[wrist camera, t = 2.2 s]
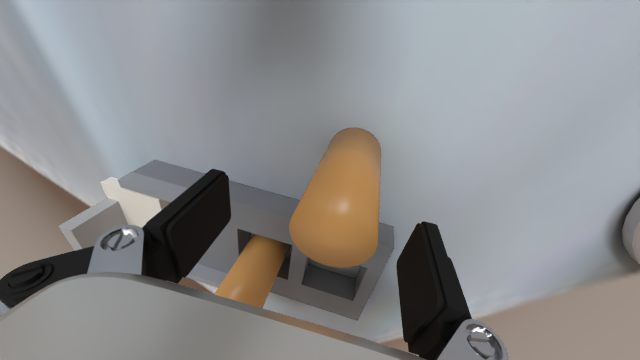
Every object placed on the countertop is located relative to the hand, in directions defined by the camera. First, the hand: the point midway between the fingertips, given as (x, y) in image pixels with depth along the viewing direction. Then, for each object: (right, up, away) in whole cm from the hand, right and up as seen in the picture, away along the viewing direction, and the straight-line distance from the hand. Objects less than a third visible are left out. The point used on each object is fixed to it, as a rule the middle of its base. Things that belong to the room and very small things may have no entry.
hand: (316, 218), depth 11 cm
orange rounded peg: (+3, +4, +6) cm, 8 cm away
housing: (-6, -4, +14) cm, 15 cm away
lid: (-17, -3, +13) cm, 22 cm away
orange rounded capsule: (-5, -4, +14) cm, 15 cm away
